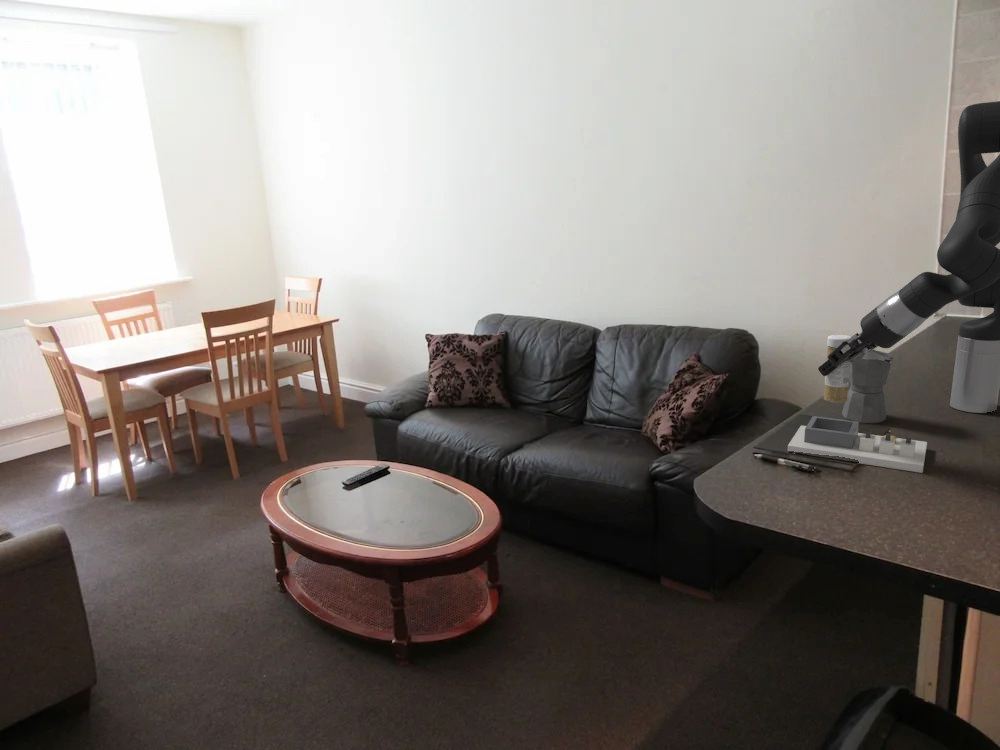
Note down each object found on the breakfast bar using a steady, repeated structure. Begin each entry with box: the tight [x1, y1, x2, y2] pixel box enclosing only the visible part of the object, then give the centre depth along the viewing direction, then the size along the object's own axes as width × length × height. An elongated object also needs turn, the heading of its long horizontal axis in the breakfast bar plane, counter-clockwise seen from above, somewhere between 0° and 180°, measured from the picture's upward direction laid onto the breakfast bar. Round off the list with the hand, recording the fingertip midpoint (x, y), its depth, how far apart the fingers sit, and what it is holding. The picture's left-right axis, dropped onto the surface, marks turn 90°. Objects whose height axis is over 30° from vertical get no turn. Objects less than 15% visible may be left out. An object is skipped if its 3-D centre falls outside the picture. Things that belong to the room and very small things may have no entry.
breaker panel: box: [787, 415, 928, 474], centre depth 142 cm, size 14×24×5 cm, turn 57°
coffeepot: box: [841, 349, 894, 424], centre depth 161 cm, size 15×9×18 cm, turn 13°
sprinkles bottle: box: [823, 334, 852, 404], centre depth 142 cm, size 5×5×13 cm
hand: (828, 370), depth 144 cm, fingers closed on sprinkles bottle, 4 cm apart
